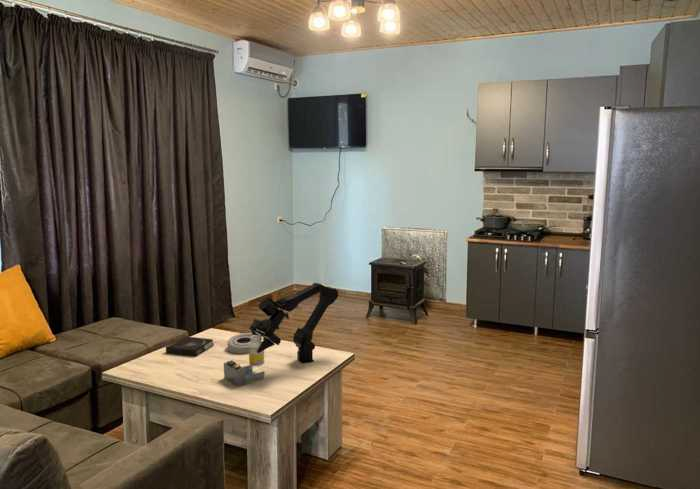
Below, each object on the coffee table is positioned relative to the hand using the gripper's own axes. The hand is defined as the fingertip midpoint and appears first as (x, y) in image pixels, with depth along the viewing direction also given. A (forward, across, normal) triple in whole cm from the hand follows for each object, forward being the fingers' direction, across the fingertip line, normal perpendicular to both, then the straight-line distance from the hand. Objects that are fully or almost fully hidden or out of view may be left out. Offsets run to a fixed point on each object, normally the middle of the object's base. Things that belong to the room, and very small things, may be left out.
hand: (253, 350), depth 239 cm
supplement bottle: (+4, 0, +6) cm, 7 cm away
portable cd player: (+14, -50, +3) cm, 52 cm away
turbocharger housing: (-1, -34, +18) cm, 39 cm away
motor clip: (+12, 0, +5) cm, 13 cm away
